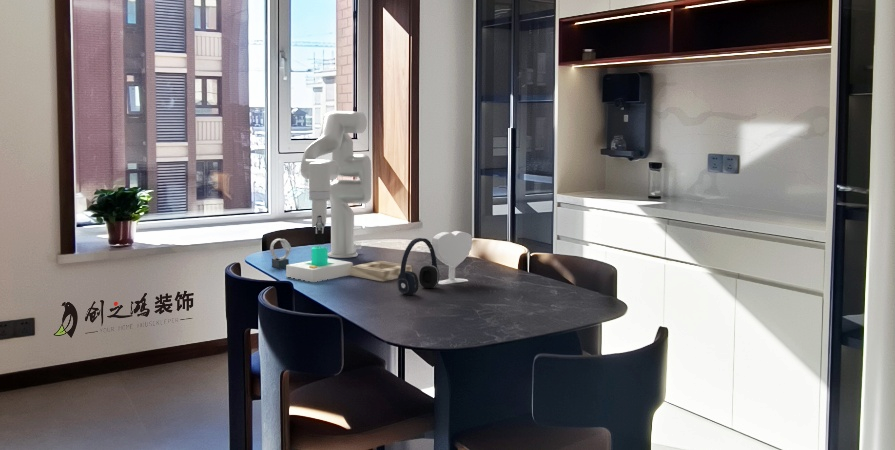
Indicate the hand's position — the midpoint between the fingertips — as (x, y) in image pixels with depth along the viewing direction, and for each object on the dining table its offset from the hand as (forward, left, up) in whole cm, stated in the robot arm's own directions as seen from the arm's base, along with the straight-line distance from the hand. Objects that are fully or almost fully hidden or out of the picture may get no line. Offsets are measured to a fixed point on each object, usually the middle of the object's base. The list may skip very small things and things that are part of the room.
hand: (320, 241), depth 319 cm
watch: (-2, -24, -13) cm, 27 cm away
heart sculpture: (-25, +42, -13) cm, 51 cm away
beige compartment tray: (-16, +16, -13) cm, 26 cm away
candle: (0, 0, -13) cm, 13 cm away
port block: (0, 0, -13) cm, 13 cm away
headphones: (-4, +44, -13) cm, 46 cm away
